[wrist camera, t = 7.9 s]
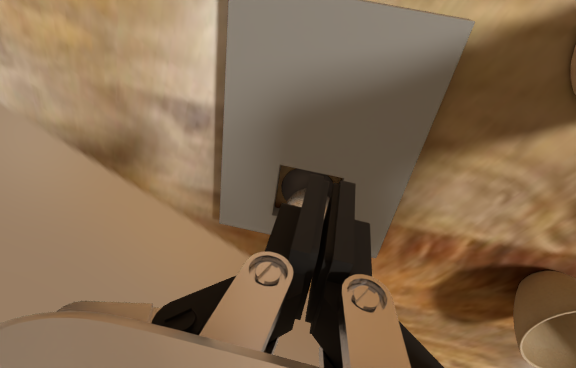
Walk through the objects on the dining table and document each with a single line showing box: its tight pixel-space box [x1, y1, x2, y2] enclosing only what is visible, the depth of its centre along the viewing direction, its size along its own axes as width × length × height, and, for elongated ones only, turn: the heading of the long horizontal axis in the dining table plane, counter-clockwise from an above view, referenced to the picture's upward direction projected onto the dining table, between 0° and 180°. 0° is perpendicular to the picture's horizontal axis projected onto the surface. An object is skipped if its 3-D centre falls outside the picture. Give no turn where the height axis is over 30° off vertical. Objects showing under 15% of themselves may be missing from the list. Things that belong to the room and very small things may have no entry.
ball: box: [286, 188, 329, 217], centre depth 33 cm, size 5×5×5 cm
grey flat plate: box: [219, 0, 475, 258], centre depth 31 cm, size 18×24×2 cm
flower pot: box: [513, 271, 576, 368], centre depth 34 cm, size 10×10×7 cm
